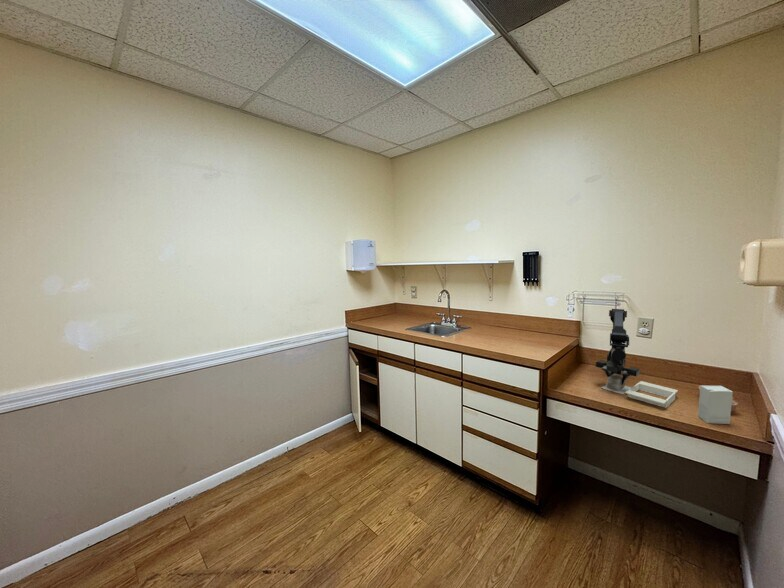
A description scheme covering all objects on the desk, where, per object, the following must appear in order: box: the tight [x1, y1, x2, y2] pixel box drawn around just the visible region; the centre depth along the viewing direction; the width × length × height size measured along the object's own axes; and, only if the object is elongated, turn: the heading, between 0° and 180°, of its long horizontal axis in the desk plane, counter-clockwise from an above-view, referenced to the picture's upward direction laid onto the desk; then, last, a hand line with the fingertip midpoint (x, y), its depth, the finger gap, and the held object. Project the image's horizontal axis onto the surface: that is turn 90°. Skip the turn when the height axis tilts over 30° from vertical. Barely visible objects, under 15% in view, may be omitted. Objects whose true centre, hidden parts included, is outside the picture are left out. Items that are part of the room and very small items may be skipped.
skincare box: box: [697, 385, 734, 425], centre depth 134 cm, size 8×6×15 cm
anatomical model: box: [698, 384, 739, 412], centre depth 149 cm, size 23×10×5 cm, turn 150°
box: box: [607, 373, 626, 391], centre depth 169 cm, size 5×9×6 cm, turn 126°
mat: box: [600, 383, 632, 395], centre depth 169 cm, size 10×12×1 cm
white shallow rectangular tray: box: [624, 380, 679, 409], centre depth 157 cm, size 15×22×4 cm
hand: (616, 383), depth 168 cm, fingers open, 6 cm apart
